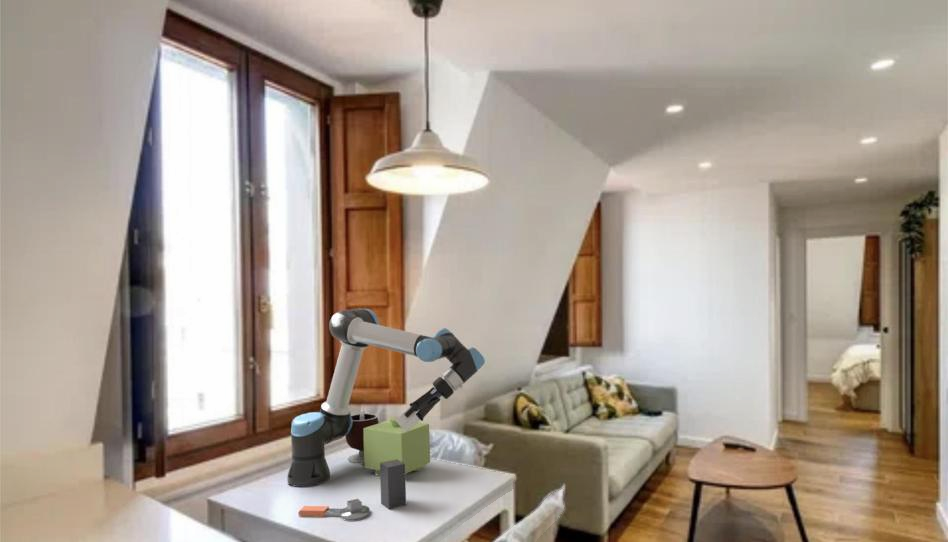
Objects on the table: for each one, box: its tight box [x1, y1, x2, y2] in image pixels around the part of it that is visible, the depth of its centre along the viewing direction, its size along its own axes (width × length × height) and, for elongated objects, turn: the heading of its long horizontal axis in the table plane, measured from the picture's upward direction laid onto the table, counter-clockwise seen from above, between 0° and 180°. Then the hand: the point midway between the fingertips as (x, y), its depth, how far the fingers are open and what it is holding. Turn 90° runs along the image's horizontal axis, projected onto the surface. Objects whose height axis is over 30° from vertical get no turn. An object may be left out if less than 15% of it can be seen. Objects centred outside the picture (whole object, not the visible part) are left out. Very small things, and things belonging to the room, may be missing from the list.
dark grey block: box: [379, 459, 407, 510], centre depth 176 cm, size 6×6×13 cm
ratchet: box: [297, 498, 371, 521], centre depth 169 cm, size 22×9×4 cm, turn 83°
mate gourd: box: [344, 405, 380, 464], centre depth 226 cm, size 16×14×20 cm
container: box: [363, 417, 431, 475], centre depth 208 cm, size 19×16×20 cm
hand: (400, 426), depth 184 cm, fingers open, 13 cm apart
